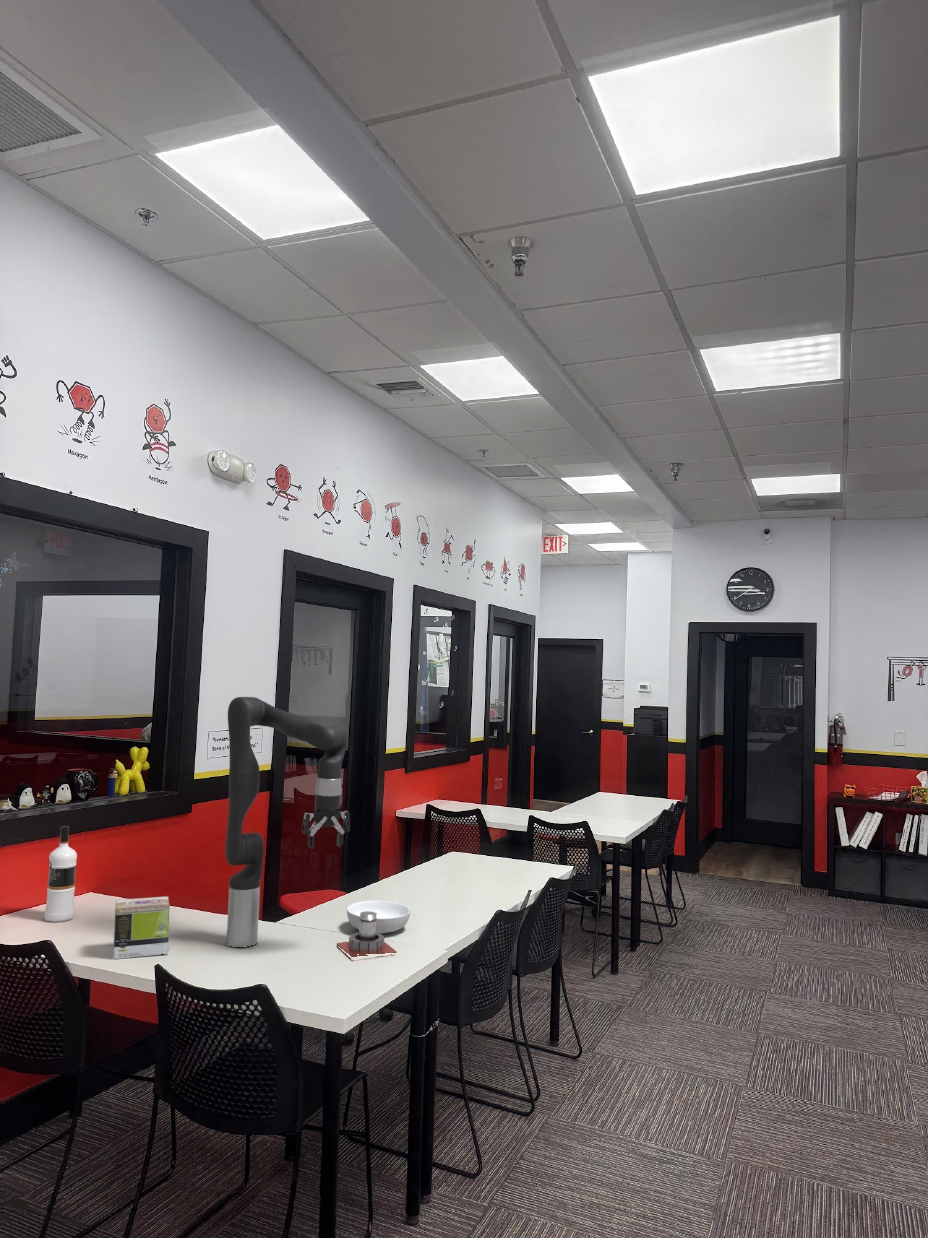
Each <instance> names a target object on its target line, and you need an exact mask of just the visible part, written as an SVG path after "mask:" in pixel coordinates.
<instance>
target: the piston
mask: <svg viewBox="0 0 928 1238" xmlns="http://www.w3.org/2000/svg"><path fill="white" fill-rule="evenodd" d="M376 916H377V914H376V913H375V912H370V911H366V912H361V913H360V924H359V929H358V933H359V940H361V941H373V940H375V934H376V919H377V918H376Z"/></svg>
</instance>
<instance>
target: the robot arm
mask: <svg viewBox="0 0 928 1238" xmlns="http://www.w3.org/2000/svg"><path fill="white" fill-rule="evenodd" d="M254 726H259V727H268V728H272V729H275V730H277V731H279V732H280V733H282V734H284V735H285V736H287V737H290V738H291V739H292V738H293V739H295V740H298V741H302V742H306V743H307V744H309V745H311V746H313V747H314V748H317V749H320V750H323V751H324V755H323V756H322V757H320V759H319V760H318V763H317V777H316V783H315V795H314V796H315V798H314V810H313V813H311V812H310V813H308V812H304V813H303V817H302V818H303V819H302V826H301V832H302V834H304V835H307V846H308V847H309V849H311V850H314V849H315V834H316V833H317V832H318V831H319V830H320V828H327V827H328V828H333V827H334V828H335V830H336V831H337V834H336V847H338V848H341V847H342V845H343V844H344V835H345V833H349V832H350V831H351V812H350V811H348V810H344V811H341V801H342V800H341V798H342V796H341V795H342V765H343V760H344V757H345V754H346V750H347V745H348V733H347V731H346V729H345V728H344V727H343V726H341V725H338V724H335V725H326V726H325V725H321V724H319V723H318V721H316V720H315V719H312V718H309V717H306V716H303V715H299V714H295V713H292V712H288V711H284V710H283V709H279V708H278V707H275V706H273V705H271V704H269V703H267V702H265V701H264V700H262V699H260V698H258V697H254V696H236V697H234V698H233V699H232V700H231V701H230V703H229V705H228V708H227V728H228V738H229V739H228V740H229V770H228V816H227V827H226V836H225V844H224V845H225V846H224V847H225V849H224V850H225V851H224V853H225V859H226V862H227V864H228V865H229V866H232V867H234V866H244V865H245V866H244V867H243V868H242V869H241V870H240V871H238V872H236V873H235V874H233V875H232V876H230V877H229V881H228V882H229V883H228V884H229V885H228V905H227V925H226V928H227V929H226V943H225V944H226V945H227V944H228V945H229V946H228V945H227V946H228V947H230V946H232V947H231V948H235V947H244V946H250V947H252V946H251V945H253V944H256V943H257V944H258V936H259V935H258V932H259V917H260V916H259V915H260V913H259V912H260V894H261V893H260V891H261V880H262V876H263V866H264V856H265V840H264V838H263V837H262V835H261V833H259V832H247V833H243V826H244V820H245V819H246V818H245V817H246V816H247V813H248V811H249V810H250V808H251V806H252V805H253V804H254V802H255V800H256V798H257V795H258V794H259V792H260V774H261V773H260V772H261V771H260V765H259V763H258V760H257V757H256V755H255V753H254V750H253V747H252V744H251V727H254ZM340 818H342V819H343V821H342V822H343V825H341V824H340V822H339V820H340ZM312 819H314V821H313V823H312V824H311V827H310V822H311V821H312ZM342 826H343V827H342ZM257 944H256V945H257Z"/></svg>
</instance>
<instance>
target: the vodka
mask: <svg viewBox="0 0 928 1238" xmlns="http://www.w3.org/2000/svg"><path fill="white" fill-rule="evenodd" d="M59 833H60V834H59V843H58V845H59V846H58V847H56V848H55V849H53V851H51V852H50V854H49V856H48V859H49V864H48V879H47V889H46V891H47V893H46V895H47V896H46V905H45V909H44V912H43V919H44V920H45V921H47V922H48V923H62V922H67V921H71V920H72V919H74V917H75V916H76V908H75V889H76V885H75V883H76V882H75V881H76V866H77V859H78V854H77V852H76V850H75V849H73V848H72V847H70V846H69V837H70V836H69V833H70V826H69V825H63V826H60V832H59Z"/></svg>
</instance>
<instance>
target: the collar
mask: <svg viewBox="0 0 928 1238" xmlns="http://www.w3.org/2000/svg"><path fill="white" fill-rule="evenodd" d="M337 946H339V947H340V948H341V949H343V950H344V951H345V952H346V953H348V954H349V955H350V956H351V957H357V956H368V955H366V954H385V953H398V951H397V950H395V949H394V948H393V947H391V945H389V944H388V943H387V942H385V936H384V934H379V933H376V934H375V940H373V941H361V940H359V932H354V933H352V934H351V935H349V936H348V941H343V942H336V947H337ZM357 954H359V955H357Z"/></svg>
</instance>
